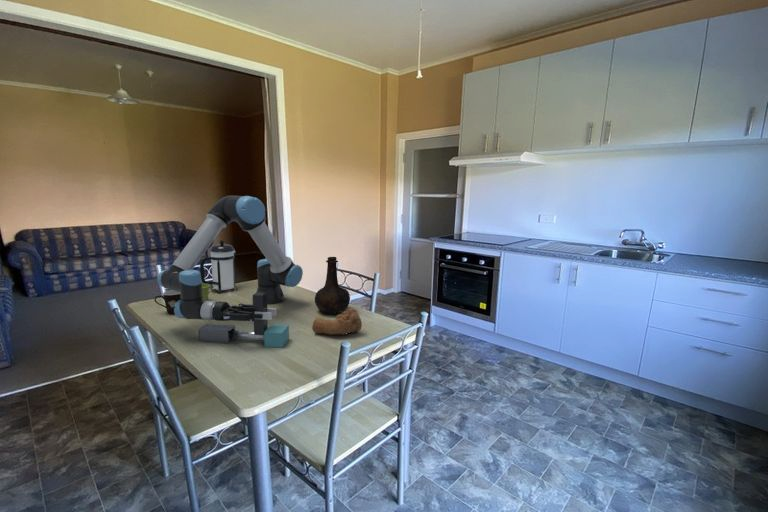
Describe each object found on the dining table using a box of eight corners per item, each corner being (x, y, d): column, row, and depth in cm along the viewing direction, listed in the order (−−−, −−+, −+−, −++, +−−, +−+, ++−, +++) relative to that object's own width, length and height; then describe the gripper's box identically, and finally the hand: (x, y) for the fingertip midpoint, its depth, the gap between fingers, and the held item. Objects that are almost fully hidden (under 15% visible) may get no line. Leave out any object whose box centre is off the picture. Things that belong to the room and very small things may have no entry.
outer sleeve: (199, 341, 136) (198, 329, 136) (207, 335, 142) (206, 323, 141) (228, 343, 136) (227, 331, 135) (235, 336, 142) (235, 325, 141)
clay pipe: (351, 349, 142) (367, 327, 154) (349, 329, 137) (365, 308, 149) (313, 339, 149) (331, 319, 161) (309, 320, 144) (328, 300, 156)
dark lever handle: (227, 339, 137) (224, 293, 133) (232, 335, 141) (229, 290, 137) (274, 342, 136) (272, 296, 132) (277, 338, 140) (276, 293, 136)
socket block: (264, 346, 134) (264, 332, 133) (272, 337, 142) (272, 324, 141) (282, 347, 134) (281, 333, 133) (289, 338, 142) (288, 325, 140)
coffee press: (216, 286, 212) (213, 237, 206) (242, 287, 212) (240, 239, 206) (201, 294, 195) (197, 242, 189) (228, 295, 195) (226, 243, 189)
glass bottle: (344, 318, 166) (345, 262, 161) (309, 315, 169) (308, 259, 163) (353, 306, 183) (354, 255, 178) (321, 304, 186) (321, 253, 181)
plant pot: (191, 299, 185) (190, 284, 184) (211, 298, 189) (210, 282, 188) (190, 305, 177) (189, 289, 175) (210, 303, 181) (209, 287, 179)
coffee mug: (189, 309, 170) (187, 290, 169) (177, 315, 162) (175, 295, 160) (167, 308, 171) (165, 289, 170) (154, 314, 163) (152, 294, 161)
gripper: (227, 312, 146) (281, 315, 145) (204, 328, 129) (265, 331, 128) (226, 295, 145) (281, 298, 143) (203, 309, 128) (264, 312, 127)
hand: (273, 314), depth 136 cm, fingers closed on dark lever handle, 4 cm apart
